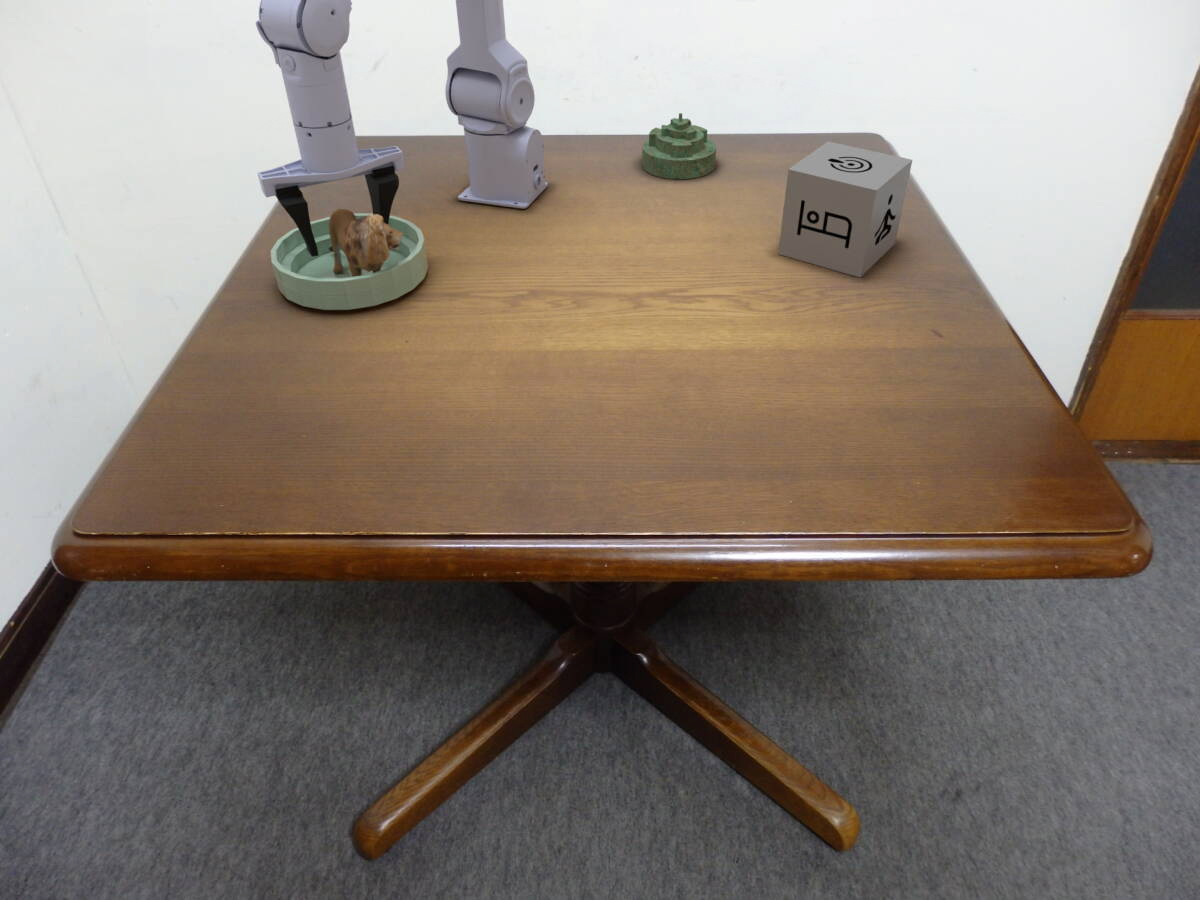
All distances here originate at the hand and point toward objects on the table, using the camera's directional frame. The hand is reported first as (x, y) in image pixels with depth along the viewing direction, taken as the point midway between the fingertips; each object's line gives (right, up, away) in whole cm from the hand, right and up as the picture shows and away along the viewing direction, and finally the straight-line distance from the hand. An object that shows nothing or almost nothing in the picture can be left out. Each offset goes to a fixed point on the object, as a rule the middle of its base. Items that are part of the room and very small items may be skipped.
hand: (348, 244), depth 99 cm
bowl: (0, -3, +2) cm, 4 cm away
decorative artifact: (+38, +17, +27) cm, 50 cm away
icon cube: (+55, +1, +7) cm, 55 cm away
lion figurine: (+2, -4, +1) cm, 4 cm away
